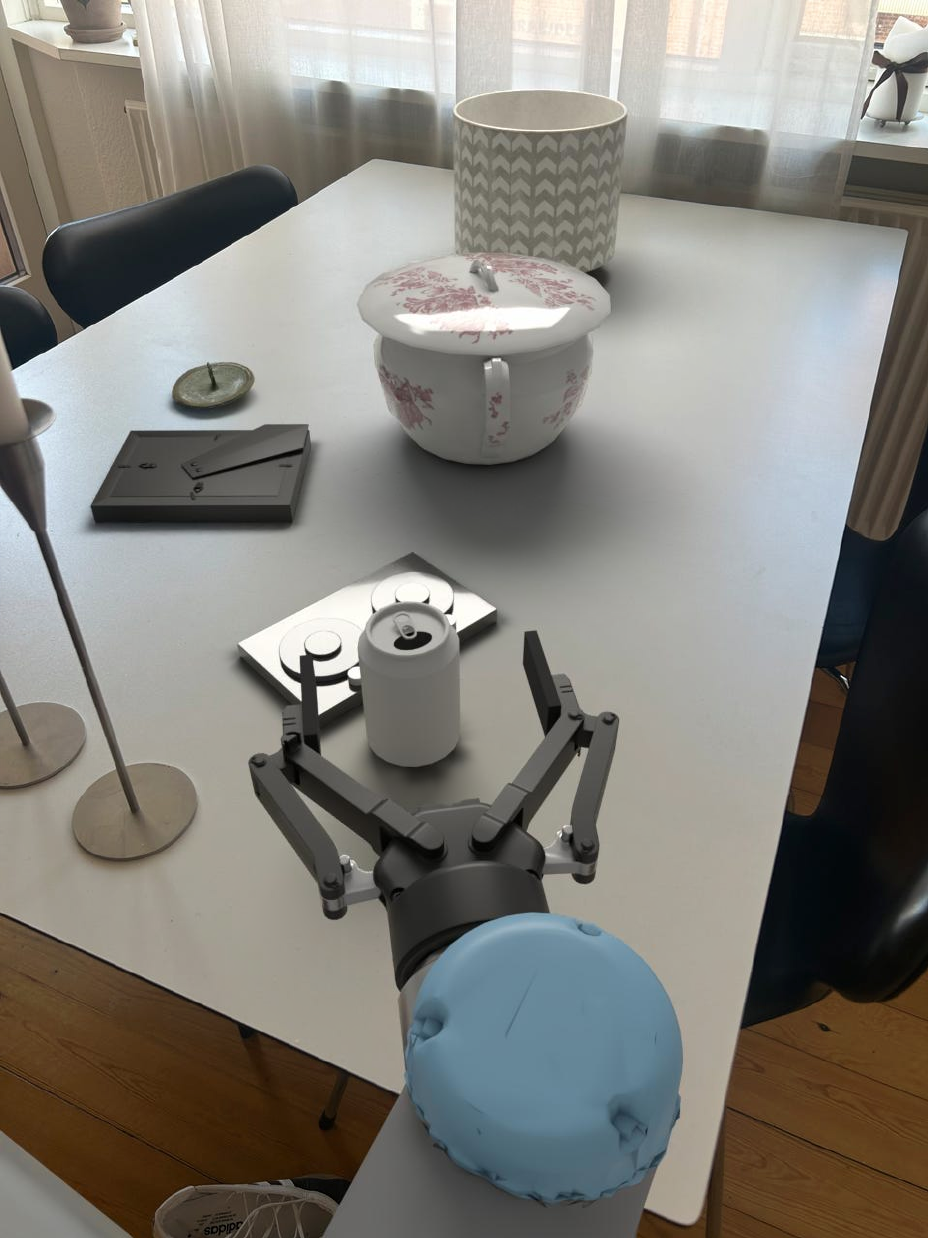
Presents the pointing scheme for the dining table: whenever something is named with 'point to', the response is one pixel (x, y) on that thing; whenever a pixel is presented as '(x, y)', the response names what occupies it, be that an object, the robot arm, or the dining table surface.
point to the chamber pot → (484, 350)
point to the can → (410, 683)
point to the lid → (212, 385)
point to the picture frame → (206, 476)
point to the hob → (355, 631)
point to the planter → (539, 174)
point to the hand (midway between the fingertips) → (420, 658)
